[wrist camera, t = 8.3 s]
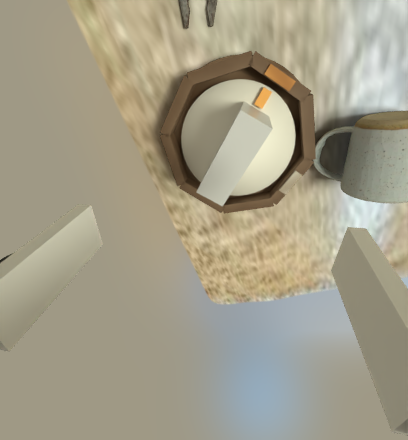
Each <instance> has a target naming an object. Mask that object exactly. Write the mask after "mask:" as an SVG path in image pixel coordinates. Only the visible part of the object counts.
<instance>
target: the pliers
mask: <svg viewBox="0 0 408 440" xmlns="http://www.w3.org/2000/svg"><path fill="white" fill-rule="evenodd" d="M188 1H189V0H179V2H180V6H181V11H182V16H183V20H184V25H185V28H188V25H189V15H190V8H189V5H188V4H189V3H188ZM208 1H209V2H208V5H207V6H208V7H207V10H208V16H209V22H210V26H211V27H212V26H213V23H214V17H215V11H216V5H217V0H208Z"/></svg>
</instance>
